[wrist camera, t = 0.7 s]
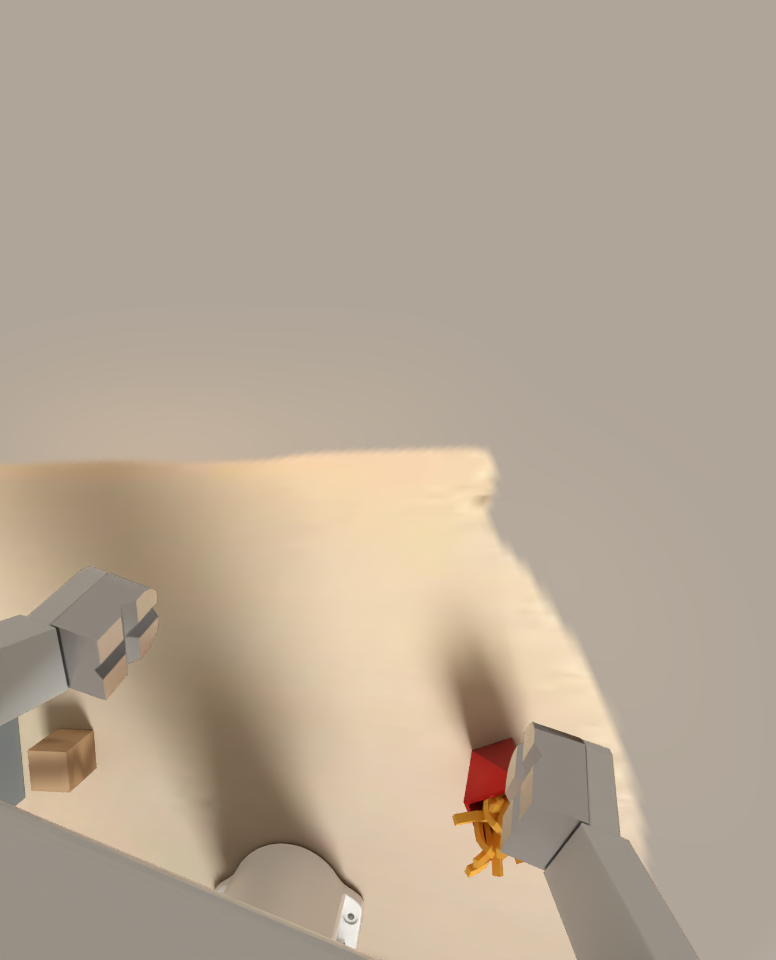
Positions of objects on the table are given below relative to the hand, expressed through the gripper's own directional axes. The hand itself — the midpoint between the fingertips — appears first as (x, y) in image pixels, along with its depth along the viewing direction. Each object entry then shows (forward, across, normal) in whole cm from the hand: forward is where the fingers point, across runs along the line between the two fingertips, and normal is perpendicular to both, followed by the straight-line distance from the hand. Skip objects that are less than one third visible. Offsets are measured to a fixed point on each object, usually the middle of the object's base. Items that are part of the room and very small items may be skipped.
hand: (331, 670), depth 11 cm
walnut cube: (+25, -35, -64) cm, 77 cm away
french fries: (+33, +14, -49) cm, 61 cm away
